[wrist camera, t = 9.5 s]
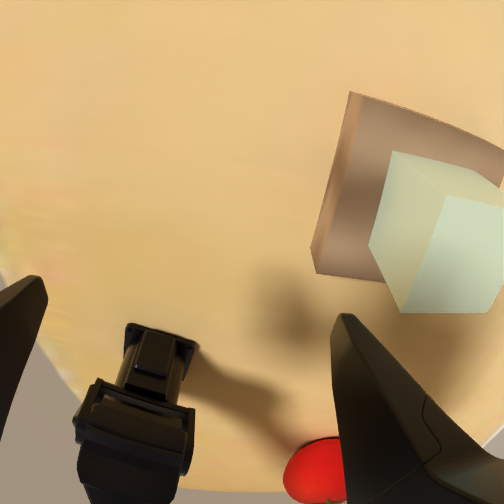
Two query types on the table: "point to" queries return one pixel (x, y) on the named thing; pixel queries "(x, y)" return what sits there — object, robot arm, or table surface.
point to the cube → (439, 237)
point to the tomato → (316, 474)
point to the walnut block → (382, 177)
